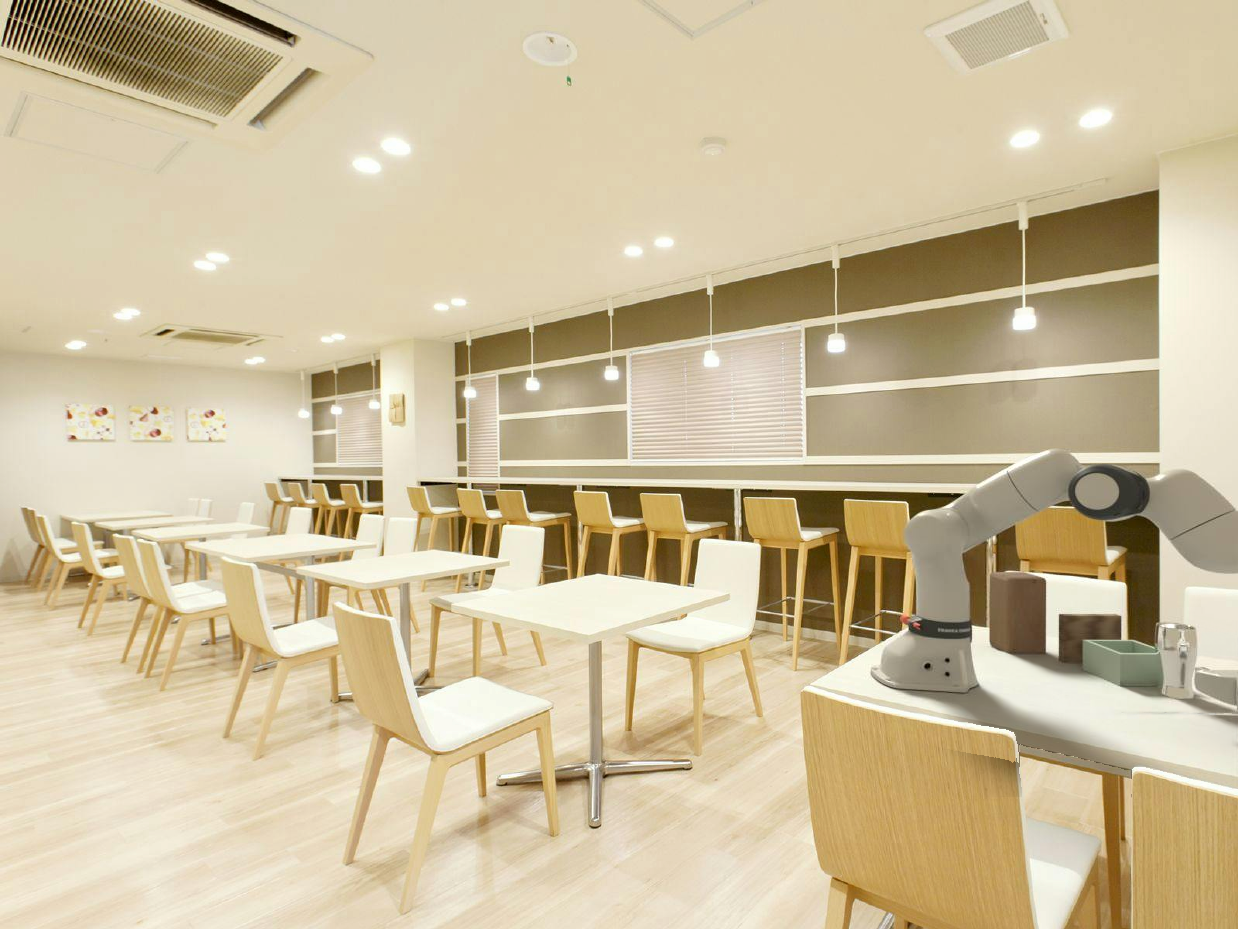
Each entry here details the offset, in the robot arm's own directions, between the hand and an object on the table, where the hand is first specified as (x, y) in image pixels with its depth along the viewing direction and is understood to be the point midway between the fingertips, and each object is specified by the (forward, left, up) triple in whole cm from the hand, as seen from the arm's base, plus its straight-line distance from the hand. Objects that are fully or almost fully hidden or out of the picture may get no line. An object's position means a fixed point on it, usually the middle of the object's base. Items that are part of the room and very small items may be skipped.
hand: (1222, 671), depth 131 cm
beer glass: (0, +11, -9) cm, 15 cm away
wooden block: (-13, +46, -9) cm, 49 cm away
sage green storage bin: (-2, +22, -8) cm, 24 cm away
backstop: (-2, +25, -9) cm, 27 cm away
